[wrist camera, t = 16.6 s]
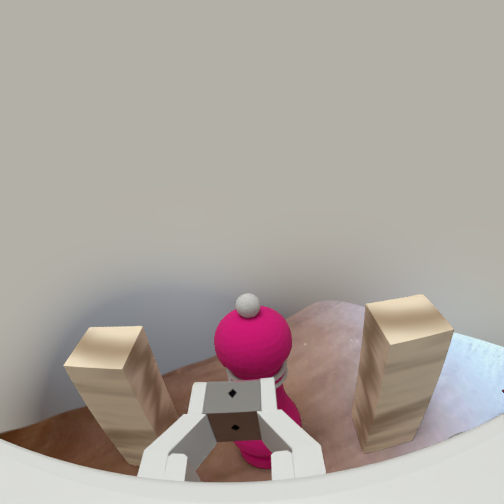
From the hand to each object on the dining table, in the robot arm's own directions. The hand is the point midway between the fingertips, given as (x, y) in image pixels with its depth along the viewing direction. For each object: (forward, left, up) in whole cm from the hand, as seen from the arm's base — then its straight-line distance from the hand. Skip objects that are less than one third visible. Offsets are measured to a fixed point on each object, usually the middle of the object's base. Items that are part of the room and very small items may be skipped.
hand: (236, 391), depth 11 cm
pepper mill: (+10, -6, -22) cm, 25 cm away
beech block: (+16, +6, -22) cm, 28 cm away
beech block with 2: (+3, -17, -22) cm, 28 cm away
